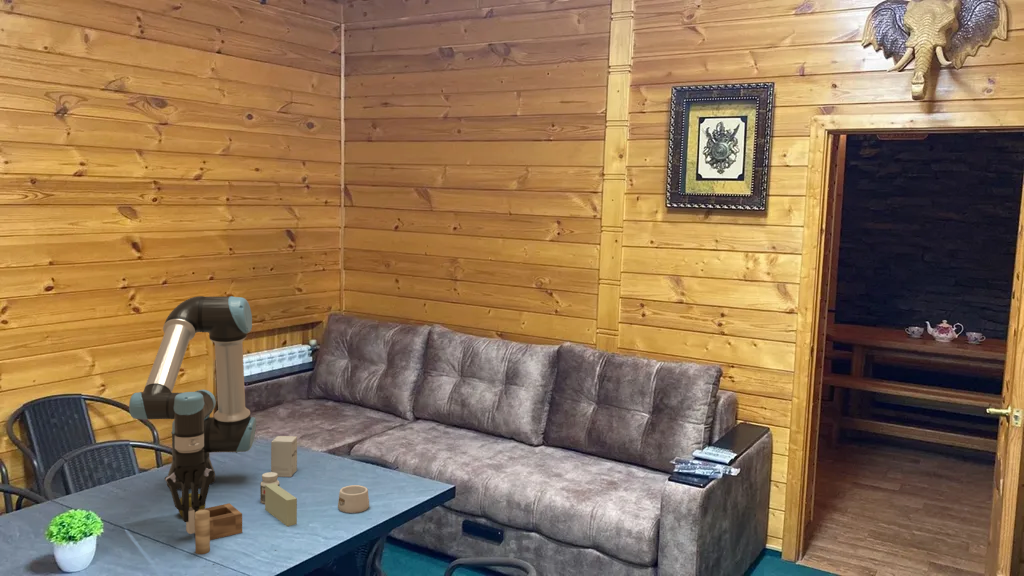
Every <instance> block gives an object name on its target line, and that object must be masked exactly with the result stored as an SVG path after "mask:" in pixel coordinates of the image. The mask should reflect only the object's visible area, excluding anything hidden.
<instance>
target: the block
mask: <svg viewBox="0 0 1024 576" xmlns="http://www.w3.org/2000/svg"><path fill="white" fill-rule="evenodd" d="M200 510H208V511H210V541H211V540H215V539H221V538H226V537H229V536H233V535H238V534H243V513H242V512H241V511H240V510H239V509H237V508H236V507H235V506H233V505H232V504H231V503H230V502H229V503H224V504H220V505H214V506H210V507H205V509H200ZM200 510H198V511H200Z"/></svg>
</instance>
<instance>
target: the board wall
mask: <svg viewBox="0 0 1024 576" xmlns="http://www.w3.org/2000/svg"><path fill="white" fill-rule="evenodd" d="M297 502H298V499H297V497H295V496H294V495H292V493H290V492H289V491H287V490H286V489H284V488H283V487H281V486H280V485H279V486H278V485H277V484H275V483H273V484H268V485H265V504H264V508H265V509H264V510H265V511H266V512H267V513H269V514H270V515H272V516H273V517H274V518H275V519H277V520H278V521H279V522H281V524H283V525H284V526H286V527H291V526H295V525H297V522H298V519H297V518H298V513H297V512H298V508H297V506H298V503H297Z"/></svg>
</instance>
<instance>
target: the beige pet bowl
mask: <svg viewBox="0 0 1024 576" xmlns="http://www.w3.org/2000/svg"><path fill="white" fill-rule="evenodd" d="M337 501H338V502H337V508H338V510H339V511H340V512H342V513H345V514H357V513H358V514H359V513H362V512H365V511H366V510H368V508H369V507H370V499H369V489H368V488H367V487H366V486H364V485H358V484H356V485H355V484H353V485H347V486H343V487H341V488H340V489H339V493H338V500H337Z"/></svg>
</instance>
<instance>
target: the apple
mask: <svg viewBox="0 0 1024 576" xmlns="http://www.w3.org/2000/svg"><path fill="white" fill-rule="evenodd" d="M199 495H200V493H198V496H199ZM179 498H180V502H181V505H182V496H181V497H179ZM206 502H207V501H206ZM206 502H205V505H204V506H200V507H199V510H200V509H205V508H206V504H207V503H206ZM191 507H192V505H191V492H189V508H191ZM177 511H178V514H179V515H180V517H181V518H182V510H180V511H179V510H178V509H177Z"/></svg>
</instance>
